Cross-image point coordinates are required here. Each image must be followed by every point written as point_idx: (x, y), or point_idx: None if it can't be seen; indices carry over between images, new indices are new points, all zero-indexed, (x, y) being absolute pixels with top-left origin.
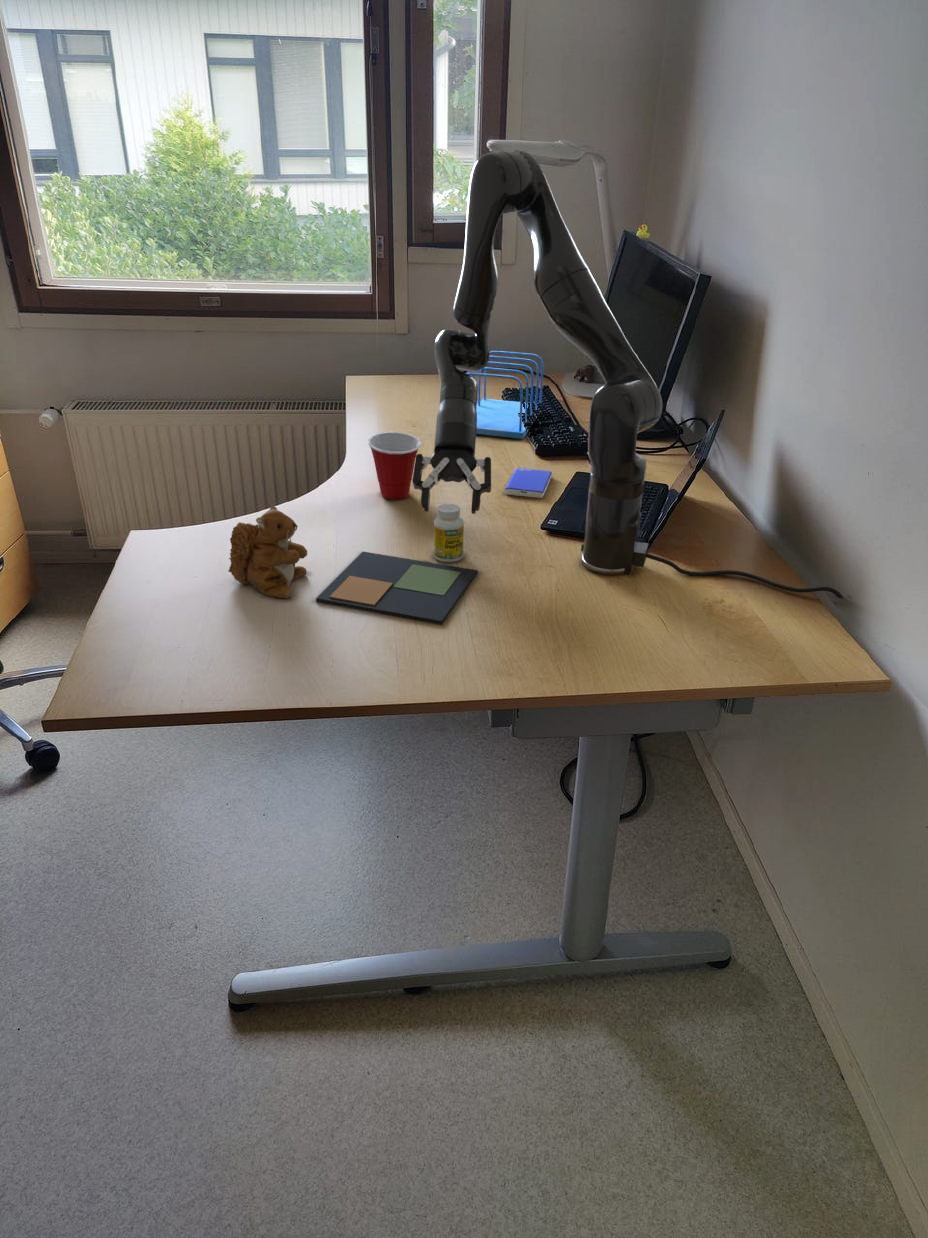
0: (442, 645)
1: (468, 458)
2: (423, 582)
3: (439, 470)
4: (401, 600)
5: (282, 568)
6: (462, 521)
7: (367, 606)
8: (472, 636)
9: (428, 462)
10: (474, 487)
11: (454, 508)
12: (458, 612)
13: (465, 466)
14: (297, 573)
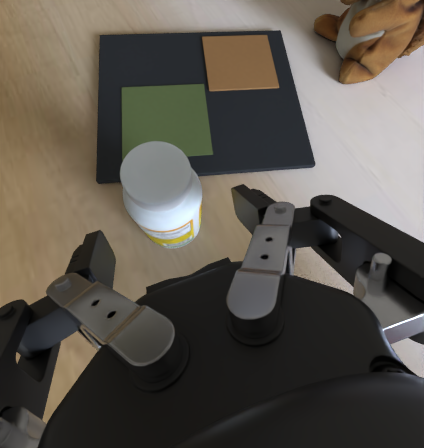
0: (85, 6)
1: (95, 430)
2: (167, 109)
3: (256, 249)
4: (174, 58)
5: (353, 7)
6: (124, 197)
7: (209, 34)
8: (53, 30)
9: (363, 299)
10: (77, 276)
11: (136, 173)
12: (90, 70)
13: (111, 329)
14: (345, 62)
